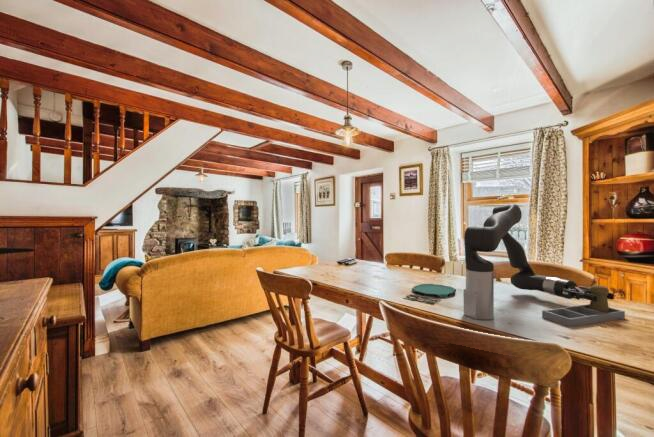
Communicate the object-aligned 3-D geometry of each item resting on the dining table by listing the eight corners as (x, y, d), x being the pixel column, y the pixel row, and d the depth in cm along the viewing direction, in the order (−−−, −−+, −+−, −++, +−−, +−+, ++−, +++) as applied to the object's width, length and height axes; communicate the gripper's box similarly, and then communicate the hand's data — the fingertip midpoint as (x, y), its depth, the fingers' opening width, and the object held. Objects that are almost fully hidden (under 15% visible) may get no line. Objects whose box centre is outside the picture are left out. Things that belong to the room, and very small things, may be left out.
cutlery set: (462, 291, 144) (461, 287, 144) (438, 307, 122) (438, 302, 122) (423, 285, 157) (423, 281, 157) (395, 299, 135) (395, 294, 135)
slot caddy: (570, 326, 98) (570, 319, 98) (542, 317, 107) (542, 310, 107) (624, 318, 106) (624, 311, 106) (593, 309, 115) (594, 303, 115)
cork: (614, 318, 106) (614, 288, 105) (595, 317, 107) (595, 287, 107) (602, 313, 112) (602, 284, 111) (584, 312, 113) (584, 283, 113)
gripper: (546, 279, 121) (592, 289, 105) (571, 277, 125) (618, 286, 109) (546, 297, 121) (592, 309, 105) (571, 294, 125) (618, 306, 109)
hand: (605, 297), depth 107 cm, fingers open, 8 cm apart
